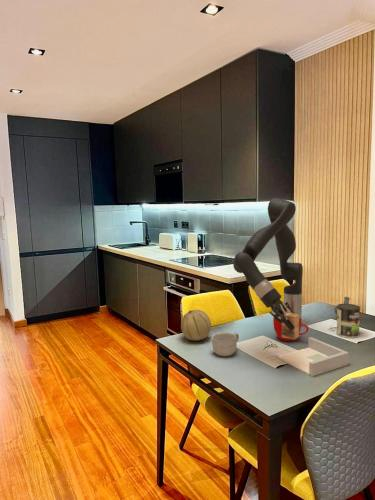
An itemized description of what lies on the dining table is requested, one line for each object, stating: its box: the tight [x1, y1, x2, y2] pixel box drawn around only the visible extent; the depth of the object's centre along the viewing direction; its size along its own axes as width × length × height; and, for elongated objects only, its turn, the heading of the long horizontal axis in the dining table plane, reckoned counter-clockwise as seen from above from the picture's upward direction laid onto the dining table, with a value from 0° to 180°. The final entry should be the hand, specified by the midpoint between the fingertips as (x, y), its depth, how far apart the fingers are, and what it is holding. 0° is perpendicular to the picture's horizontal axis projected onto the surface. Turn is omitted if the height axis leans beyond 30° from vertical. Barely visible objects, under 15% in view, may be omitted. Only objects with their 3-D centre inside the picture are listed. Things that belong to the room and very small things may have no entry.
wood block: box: [282, 313, 300, 341], centre depth 142 cm, size 5×5×9 cm
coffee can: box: [336, 303, 361, 339], centre depth 176 cm, size 10×10×14 cm
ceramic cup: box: [272, 317, 309, 342], centre depth 171 cm, size 13×17×10 cm
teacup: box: [211, 332, 240, 357], centre depth 159 cm, size 14×11×8 cm
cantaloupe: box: [180, 309, 212, 341], centre depth 175 cm, size 15×15×15 cm
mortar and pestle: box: [334, 296, 351, 316], centre depth 198 cm, size 11×9×12 cm
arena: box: [276, 336, 350, 377], centre depth 148 cm, size 20×20×5 cm
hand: (295, 327), depth 141 cm, fingers closed on wood block, 4 cm apart
